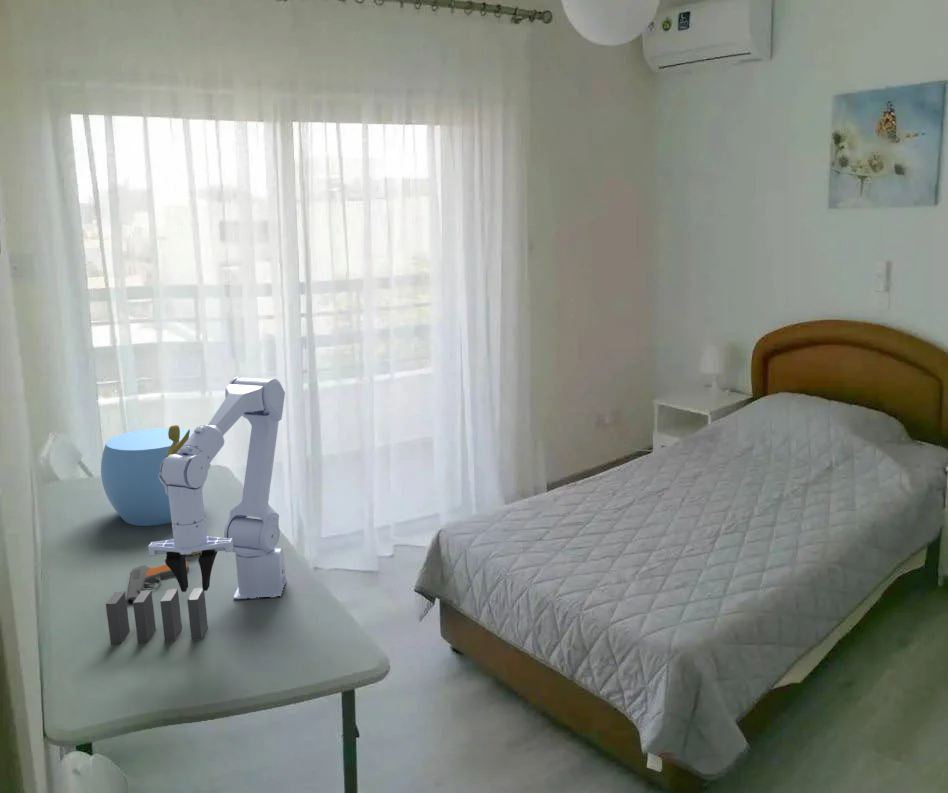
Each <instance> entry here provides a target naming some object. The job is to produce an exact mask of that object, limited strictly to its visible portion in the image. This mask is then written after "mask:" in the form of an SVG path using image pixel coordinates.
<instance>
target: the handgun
mask: <svg viewBox="0 0 948 793" xmlns="http://www.w3.org/2000/svg"><path fill="white" fill-rule="evenodd" d="M189 566H190V565H189V561H188V560H186V571H187V574H189V573H188V572H190V567H189ZM129 574H130V577H129V578H130V579H129V583H128V588H127V592H126V593H127V595H126V604H127V605H130V604H133V602H134V601H135V599H136V598H137V596H138V595H139V594H140V592H141V591H146V590H151V591H152V590H155V589H158V588H159V587H160V586H161V584H162V579H161V578H163V579H166V577H167V578H172V577H175V575H174V574H173V572H172V571H171V569H170V568H169V567H168V566H167V565H166V564H163V565H160V566H157V567H155V566H154V567H153V566H152V567H150V566H148V565H146V564H143V565H140V566H136V567H134V568H132V570H131V571H130V573H129ZM158 581H159V583H158V585H157V586H156V585H155V584H154V583H156V582H158ZM150 582H151V583H150ZM149 586H153V588H146V587H149ZM144 587H145V588H144Z"/></svg>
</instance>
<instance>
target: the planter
mask: <svg viewBox="0 0 948 793" xmlns="http://www.w3.org/2000/svg"><path fill="white" fill-rule="evenodd" d="M169 428H170V427H156V428H146V429H139V430H134V431H129V432H124V433H121V434H119V435H116V436H115V435H114V436H113V437H111V438H109V439H108V440H107V441H106V442H105V445H104V448H103V451H102V456H101V461H100V462H101V463H100V474H101V475H100V476H101V481H102V482H101V483H102V487H103V490H104V492H105V495H106V497H107V499H108V501H109V503H110V504H111V506H112V507H113V509H114V510H115V511H116V513H117V514H118V515H119V516H120V518H121V519H122V520H123V521H125V523H126V524H128V525H132V526H140V527H141V526H142V527H144V526H145V527H147V526H148V527H151V526H160V525H166V524H170V523H171V524H172V521H171V512H170V503H169V496H168V495H167V494H166V493H165V487H164V485H163V484H162V483H161V482H160V480H159V476H158V474H159V473H160V466H161V464H162V462H163V460H164V459H165V458H166V454H167V452H168V450H169V448H170V446H171V445H172V443H173V441H172V440H170V439H169V436H168V431H169ZM179 428H180V427H179ZM188 430H189V429H186V428H180V438H179V442H180V441H181V440H182V438H183V437H184V436H185V434H186V433H187V432H188ZM193 433H194V431H192V430H190V434H189V437H190V436H191V435H192V434H193ZM188 439H189V438H188ZM204 484H205V483H203V484H202V490H203V488H204V486H205V485H204Z"/></svg>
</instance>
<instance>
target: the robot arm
mask: <svg viewBox="0 0 948 793" xmlns="http://www.w3.org/2000/svg"><path fill="white" fill-rule="evenodd" d="M285 393H286V392H285V389H284V387H283V386H282V384H281V382H280V381H279V380H278V378H277V379H276V378H254V377H253V378H252V377H241V376H235V377H233V378H232V379H231V380H230V381H229V384H228V385H226V387H225V393H224V396H225V398H224V399H223V402H222V403H221V405H220V406H219V408H218V409H217V411H216V412H215V413H214V415H213V416H212V418H211V420H210V421H209V422H208V424H202V425H199V426H197V427H195V429H194V430H193V432H194V433H193V434H192V435H191V436H190V437H189V439H188V440H187V441H186V442H185V444H184V445H183V446H182V447H181V448H180V450H179V451H178V452H177V453H176V454H172V455H169V456H168V457H166V458H165V459H164V460H163V462H162V464H161V466H160V473H159V474H158V476H159V480H160V482H161V483H162V484H163V485H164V487H165V493H166V494H167V495H168V496H169V503H170V512H171V521H172V522H171V528H172V537H173V538H171V539H165V540H160V541H159V540H158V541H151V542H150V544H148V546H147V547H148V554H149V557H156V556H157V555H166V556H165V557H166V558H165V559H164V562H165V565H167V566H168V567H169V568H170V569H171V571H172V572H173V574H174V575H175V576H174V577H175V579H176V581H177V583H178V585H179V587H180V591H181V593H186V591H187V589H188V588H189V578H188V573H187V571H186V561H187V560H186V559H187V556H186V554H191V553H193V552H202V553H201V554H199V555H198V561H197V562H198V565H199V569H200V573H201V585H202V586H201V588H203V591H204V592H206V591H208V590H209V588H210V582H211V573H212V569H213V566H214V563H215V559H216V557H217V554H218V552H225V553H235V554H234V555H235V564H236V573H237V574H236V576H237V588H236V590H235V592H234V595H233V599H234V600H244V599H245V600H247V598H250V599H260V598H259V597H270V596H280V595H281V593H282V594H283V592H282V590H283V591H284V589H283V587H284V588H285V586H284V584H285V585H286V583H287V577H286V576H287V575H286V564H285V562H286V561H285V553H284V549H283V548H280V547H279V548H277V545H278V543H279V541H280V538H281V537H280V532H281V531H280V525H279V520H280V514H279V513H278V512H277V511H276V510H275V509H274V508H273V507H272V506H271V505H270V504H269V500H270V492H271V483H272V477H273V470H274V461H275V455H276V454H275V452H276V446H277V437H278V429H279V422H280V421H281V420H282V419H283V418H282V417H283V412H284V406H285V404H284V403H285V398H286V397H285V395H286V394H285ZM240 418H245V419H246V420H247V421H248V422H249V423H250V426H251V428H250V437H249V445H248V452H247V460H246V465H245V475H244V482H243V489H242V497H241V498H242V499H241V502H240V503H238V504H237V505H236V506H234V507H233V508H232V509H231V510H230V511H229V517H228V521H227V523H226V524H225V527H224V537H217V536H208V535H207V525H206V515H205V505H204V495H203V489H202V484H203V483H204V484H205V482H206V481H207V478H208V475H209V474H208V472H209V470H210V468H211V463H212V461H213V460H214V459H215V457H216V456H217V455H218V454H219V452H220V451H221V450H222V448H223V446H224V445H225V438H224V436H225V434H226V433H227V432H228V431H229V430H230V429H231V428H232V427H233V426H234V425H235V423H237V422H238V421H239V419H240ZM249 517H250V518H249ZM251 517H255V518H251ZM285 582H286V583H285ZM274 594H275V595H274ZM281 596H282V595H281ZM281 596H280V597H281ZM256 597H258V598H256ZM270 598H271V597H270Z"/></svg>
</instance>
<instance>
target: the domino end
mask: <svg viewBox="0 0 948 793" xmlns="http://www.w3.org/2000/svg"><path fill="white" fill-rule="evenodd" d="M126 599H127V595H126V591H115V592H113V594H112V595H111V596H110V597H109V599H108V600H107V602H106V603H105V610H106V617H107V624H108V632H109V633H108V634H109V640H110V645H121V644H122V643H123V641H124V640H126V637H127V636H128V634H129V633H130V632H131V629H130V623H129V614H128V606H127V605H128V604H127V603H126Z"/></svg>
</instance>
